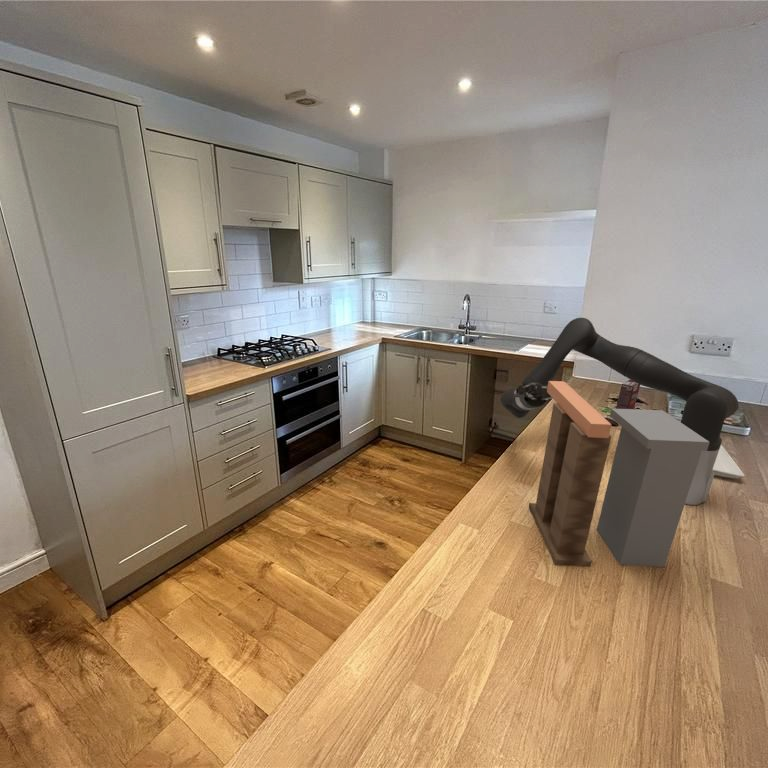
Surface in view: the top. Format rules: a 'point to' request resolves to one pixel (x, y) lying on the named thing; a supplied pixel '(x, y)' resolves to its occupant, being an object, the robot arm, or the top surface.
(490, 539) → the top surface
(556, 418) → the gate
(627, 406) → the supplement box
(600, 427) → the beam
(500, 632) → the top surface
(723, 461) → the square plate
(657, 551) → the pedestal
